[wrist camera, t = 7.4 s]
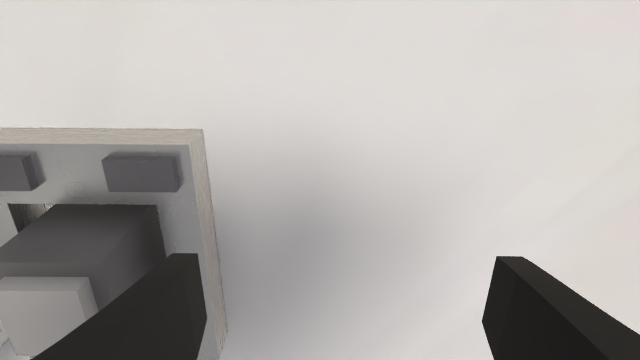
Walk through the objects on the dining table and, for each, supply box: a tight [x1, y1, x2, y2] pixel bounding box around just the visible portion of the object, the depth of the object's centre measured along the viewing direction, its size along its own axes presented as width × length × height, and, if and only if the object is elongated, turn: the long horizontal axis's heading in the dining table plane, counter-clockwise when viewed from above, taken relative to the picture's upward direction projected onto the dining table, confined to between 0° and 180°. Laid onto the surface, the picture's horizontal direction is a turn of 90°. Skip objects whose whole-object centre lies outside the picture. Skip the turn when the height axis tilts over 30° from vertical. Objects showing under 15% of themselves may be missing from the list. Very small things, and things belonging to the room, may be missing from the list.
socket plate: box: [0, 128, 227, 360], centre depth 20 cm, size 12×10×2 cm
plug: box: [0, 204, 166, 356], centre depth 18 cm, size 4×4×6 cm
